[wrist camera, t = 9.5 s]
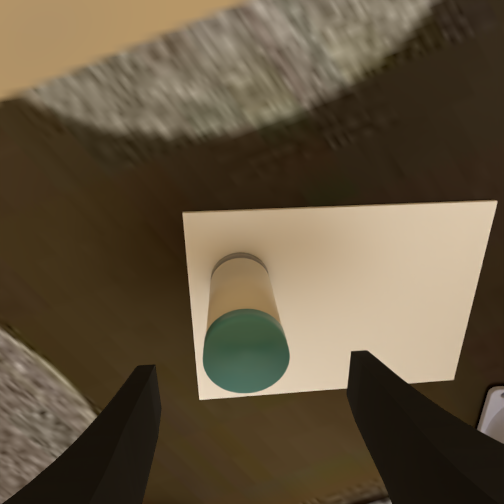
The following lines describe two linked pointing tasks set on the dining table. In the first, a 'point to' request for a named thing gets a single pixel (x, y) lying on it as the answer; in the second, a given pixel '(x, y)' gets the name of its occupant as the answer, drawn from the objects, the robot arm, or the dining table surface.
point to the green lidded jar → (243, 327)
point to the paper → (350, 284)
